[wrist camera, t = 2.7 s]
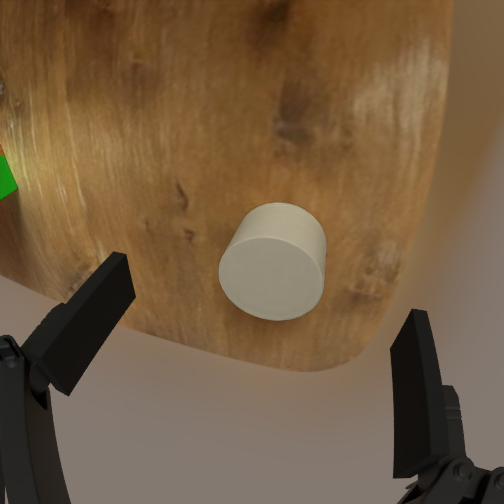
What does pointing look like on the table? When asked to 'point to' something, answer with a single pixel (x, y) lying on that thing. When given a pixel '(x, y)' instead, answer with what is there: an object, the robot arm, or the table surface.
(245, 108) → the table surface
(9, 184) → the puzzle toy
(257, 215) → the cylinder
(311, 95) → the table surface
